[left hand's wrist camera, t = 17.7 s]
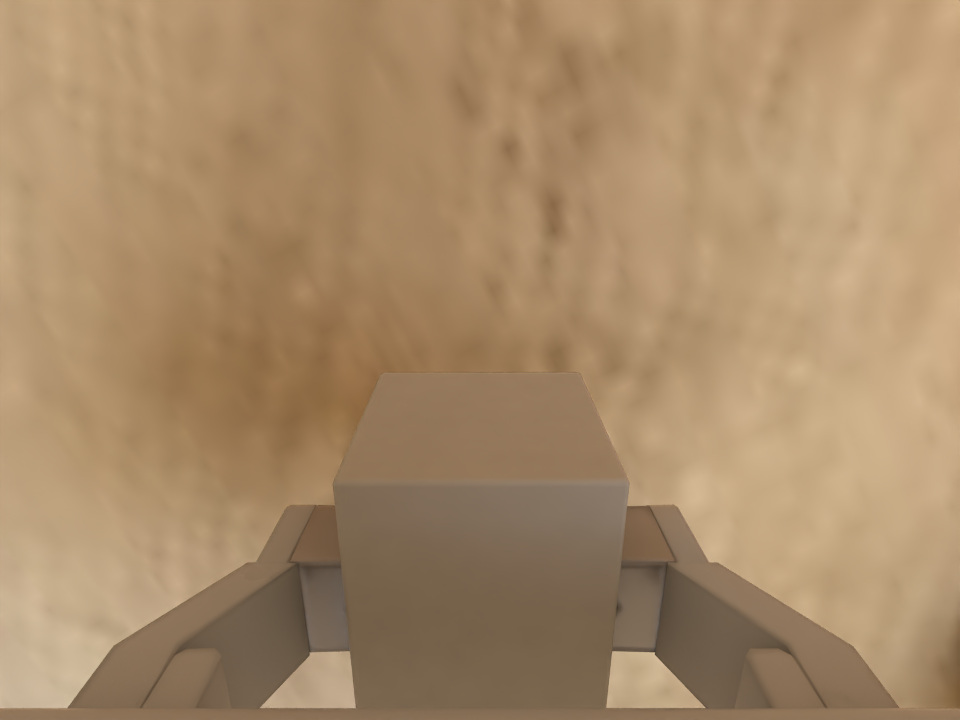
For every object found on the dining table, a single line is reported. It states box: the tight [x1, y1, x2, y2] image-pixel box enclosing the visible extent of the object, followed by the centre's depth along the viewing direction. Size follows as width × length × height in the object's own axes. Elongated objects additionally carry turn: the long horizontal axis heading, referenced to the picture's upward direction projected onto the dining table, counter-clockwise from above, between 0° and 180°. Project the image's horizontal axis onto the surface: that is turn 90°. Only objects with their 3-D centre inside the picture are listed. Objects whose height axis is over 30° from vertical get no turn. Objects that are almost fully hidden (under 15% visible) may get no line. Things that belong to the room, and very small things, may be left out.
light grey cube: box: [333, 372, 629, 708], centre depth 10 cm, size 4×4×4 cm
